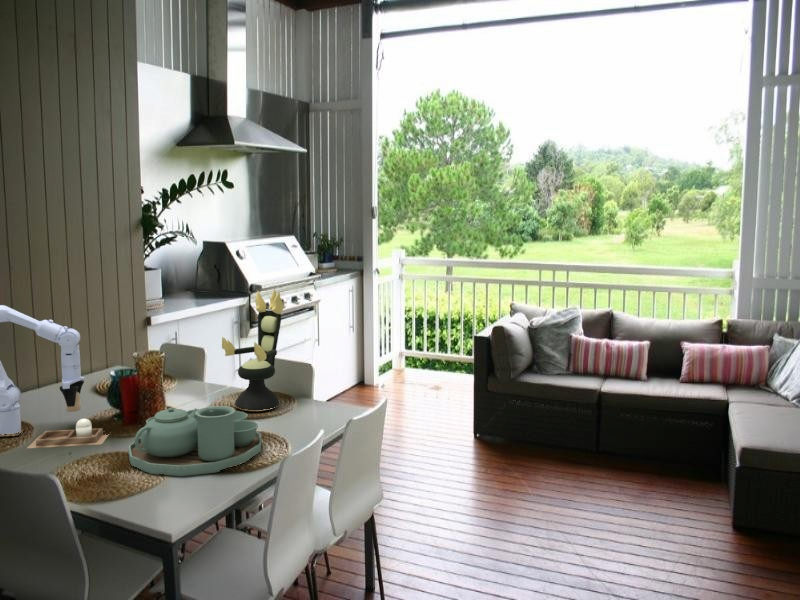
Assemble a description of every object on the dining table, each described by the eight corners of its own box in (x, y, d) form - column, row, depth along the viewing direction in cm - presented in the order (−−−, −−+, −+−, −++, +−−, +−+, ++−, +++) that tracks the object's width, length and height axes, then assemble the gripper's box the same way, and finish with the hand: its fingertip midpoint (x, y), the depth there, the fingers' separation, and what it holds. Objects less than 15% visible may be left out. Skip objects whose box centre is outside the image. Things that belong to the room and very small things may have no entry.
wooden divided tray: (26, 450, 206) (26, 442, 206) (40, 436, 218) (39, 429, 218) (101, 446, 210) (101, 438, 210) (111, 433, 223) (110, 426, 222)
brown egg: (64, 412, 223) (63, 392, 222) (68, 408, 227) (67, 389, 226) (78, 411, 223) (77, 392, 223) (82, 407, 228) (81, 388, 227)
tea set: (283, 439, 219) (282, 390, 217) (217, 485, 181) (216, 427, 179) (179, 427, 230) (177, 381, 228) (97, 469, 192) (94, 414, 190)
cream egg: (74, 441, 212) (73, 421, 212) (78, 436, 217) (77, 417, 216) (90, 440, 213) (89, 420, 212) (93, 436, 218) (92, 416, 217)
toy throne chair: (221, 408, 252) (218, 291, 246) (262, 395, 271) (260, 286, 265) (257, 417, 242) (255, 295, 236) (297, 403, 261) (296, 289, 255)
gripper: (77, 369, 217) (80, 409, 219) (89, 360, 231) (91, 397, 233) (54, 370, 216) (56, 410, 217) (67, 360, 230) (69, 398, 231)
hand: (73, 404), depth 225 cm, fingers closed on brown egg, 5 cm apart
